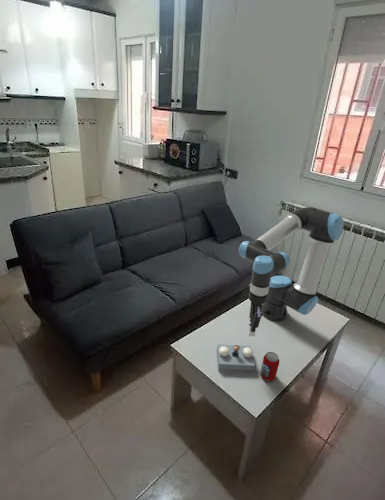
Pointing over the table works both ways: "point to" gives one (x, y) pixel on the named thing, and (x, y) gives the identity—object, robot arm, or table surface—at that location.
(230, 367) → the mount
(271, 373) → the beverage can
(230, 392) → the table surface
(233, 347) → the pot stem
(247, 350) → the knob
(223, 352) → the knob
